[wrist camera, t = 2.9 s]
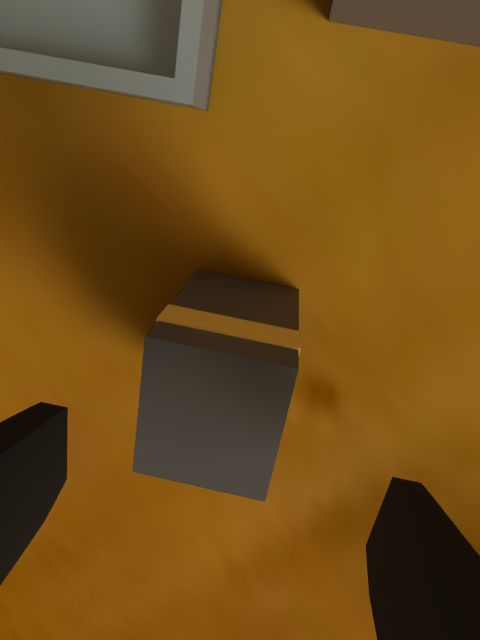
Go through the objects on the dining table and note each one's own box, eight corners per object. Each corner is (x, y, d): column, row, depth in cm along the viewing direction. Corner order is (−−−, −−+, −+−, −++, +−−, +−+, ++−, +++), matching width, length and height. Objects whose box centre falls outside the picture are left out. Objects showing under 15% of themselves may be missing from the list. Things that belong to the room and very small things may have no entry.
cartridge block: (184, 368, 19) (130, 472, 13) (197, 267, 17) (143, 334, 11) (276, 388, 19) (265, 503, 13) (300, 288, 17) (301, 367, 11)
